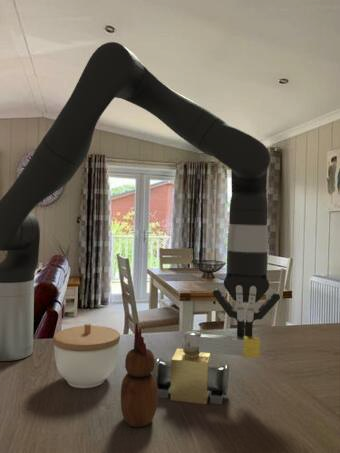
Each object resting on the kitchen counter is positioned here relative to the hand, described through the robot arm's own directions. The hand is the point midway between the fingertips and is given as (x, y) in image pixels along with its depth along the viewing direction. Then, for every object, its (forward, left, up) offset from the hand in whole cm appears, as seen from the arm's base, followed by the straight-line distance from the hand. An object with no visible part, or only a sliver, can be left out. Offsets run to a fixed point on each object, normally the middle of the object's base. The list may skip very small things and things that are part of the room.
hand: (244, 339), depth 72 cm
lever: (-4, -4, -1) cm, 6 cm away
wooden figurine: (-16, -16, -10) cm, 24 cm away
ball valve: (-9, -5, -9) cm, 14 cm away
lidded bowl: (-30, -4, -10) cm, 32 cm away
